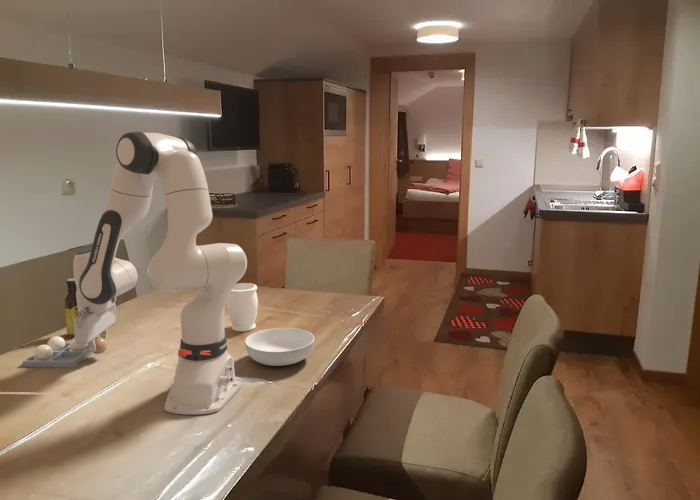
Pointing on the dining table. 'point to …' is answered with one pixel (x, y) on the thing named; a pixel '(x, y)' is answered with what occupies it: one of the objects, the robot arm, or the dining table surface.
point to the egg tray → (59, 358)
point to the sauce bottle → (71, 307)
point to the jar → (243, 306)
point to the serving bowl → (279, 346)
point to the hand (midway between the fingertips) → (98, 347)
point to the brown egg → (100, 345)
